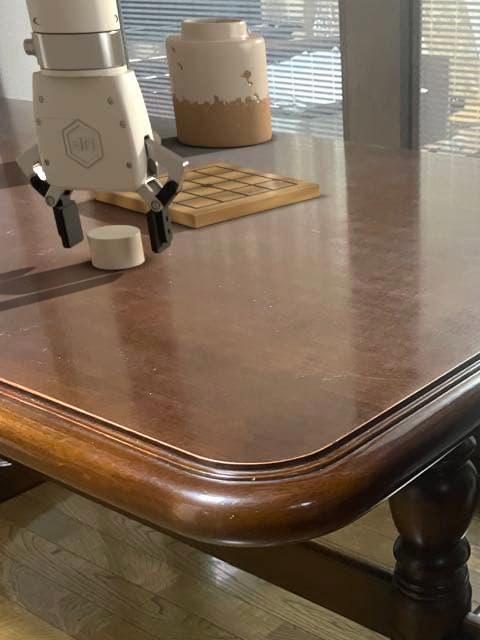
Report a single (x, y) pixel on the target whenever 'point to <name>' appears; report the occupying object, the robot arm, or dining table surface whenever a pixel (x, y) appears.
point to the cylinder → (115, 247)
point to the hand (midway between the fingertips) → (117, 246)
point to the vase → (219, 84)
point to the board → (221, 194)
